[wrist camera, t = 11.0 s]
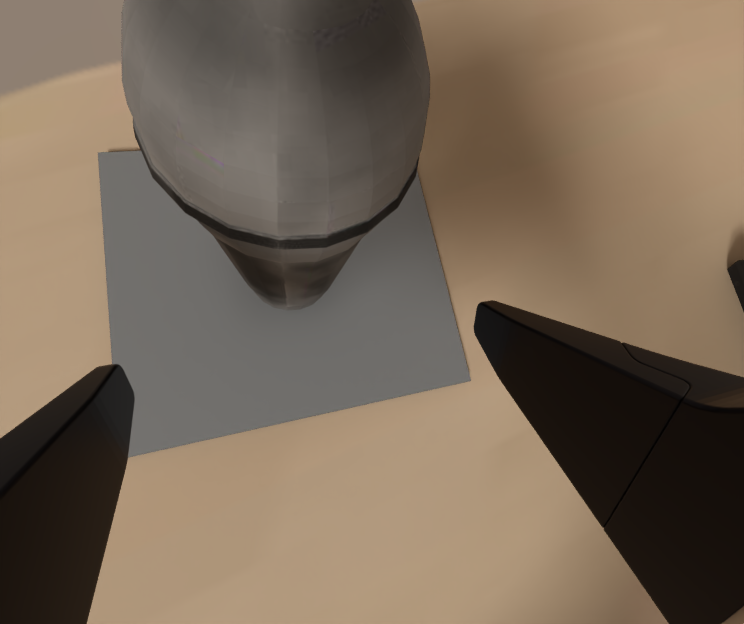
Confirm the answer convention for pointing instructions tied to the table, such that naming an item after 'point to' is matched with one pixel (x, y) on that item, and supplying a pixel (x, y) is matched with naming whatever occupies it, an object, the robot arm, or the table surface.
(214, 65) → the beverage cup
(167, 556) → the table surface
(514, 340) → the robot arm
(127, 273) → the rubber mat
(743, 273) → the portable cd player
